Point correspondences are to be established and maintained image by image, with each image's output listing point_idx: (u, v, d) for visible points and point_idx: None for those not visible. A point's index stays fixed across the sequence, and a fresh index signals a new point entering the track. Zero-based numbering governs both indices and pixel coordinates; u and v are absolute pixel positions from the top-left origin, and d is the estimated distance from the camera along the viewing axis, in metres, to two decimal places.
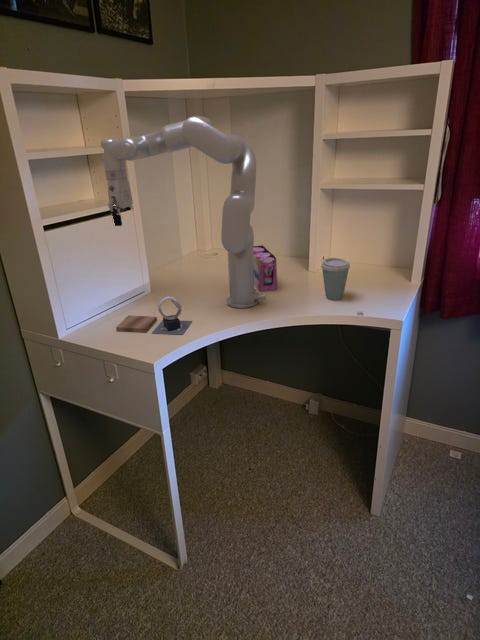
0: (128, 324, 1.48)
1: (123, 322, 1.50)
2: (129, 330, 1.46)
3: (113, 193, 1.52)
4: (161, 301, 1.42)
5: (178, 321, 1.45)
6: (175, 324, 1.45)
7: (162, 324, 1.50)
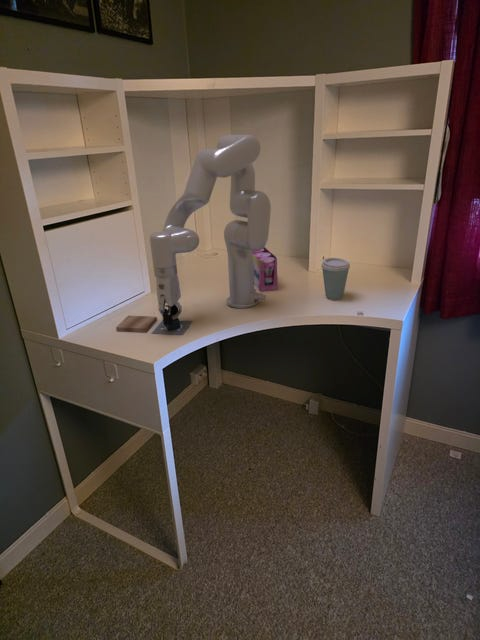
0: (128, 324, 1.48)
1: (123, 322, 1.50)
2: (129, 330, 1.46)
3: (163, 291, 1.37)
4: None
5: (178, 321, 1.45)
6: (175, 324, 1.45)
7: (162, 324, 1.50)
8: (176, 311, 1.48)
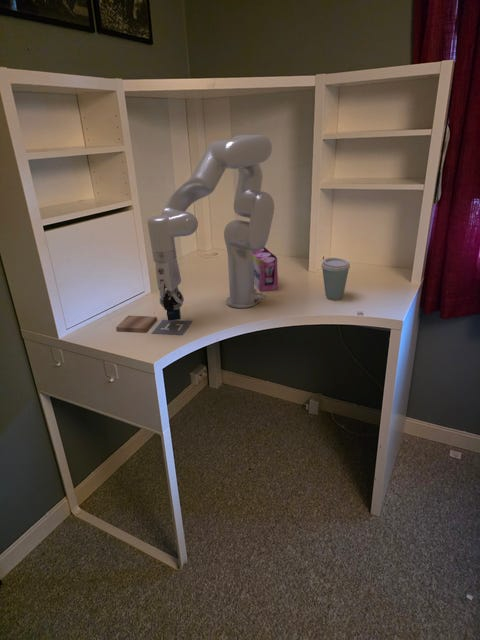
0: (128, 324, 1.48)
1: (123, 322, 1.50)
2: (129, 330, 1.46)
3: (162, 276, 1.35)
4: None
5: (178, 314, 1.45)
6: (175, 316, 1.46)
7: (162, 324, 1.50)
8: None
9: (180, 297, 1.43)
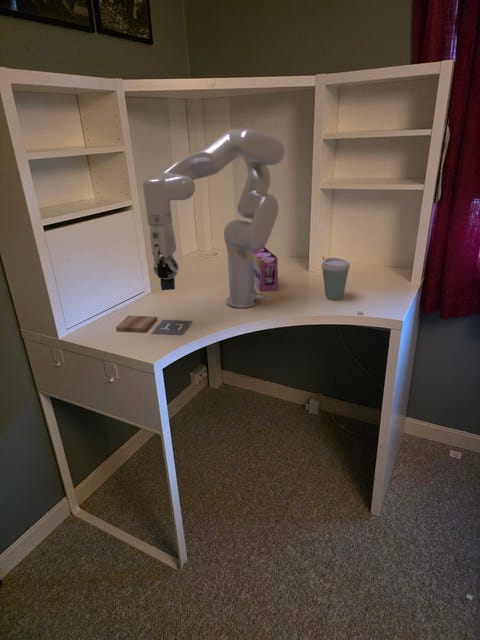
0: (128, 324, 1.48)
1: (123, 322, 1.50)
2: (129, 330, 1.46)
3: (157, 241, 1.30)
4: None
5: (172, 283, 1.40)
6: (169, 285, 1.41)
7: (162, 324, 1.50)
8: None
9: (175, 265, 1.38)
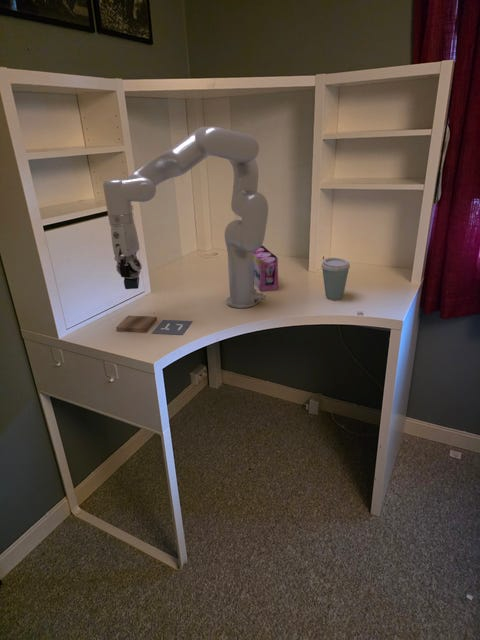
0: (128, 324, 1.48)
1: (123, 322, 1.50)
2: (129, 330, 1.46)
3: (118, 240, 1.33)
4: None
5: (135, 282, 1.43)
6: (132, 284, 1.43)
7: (162, 324, 1.50)
8: None
9: (137, 265, 1.41)
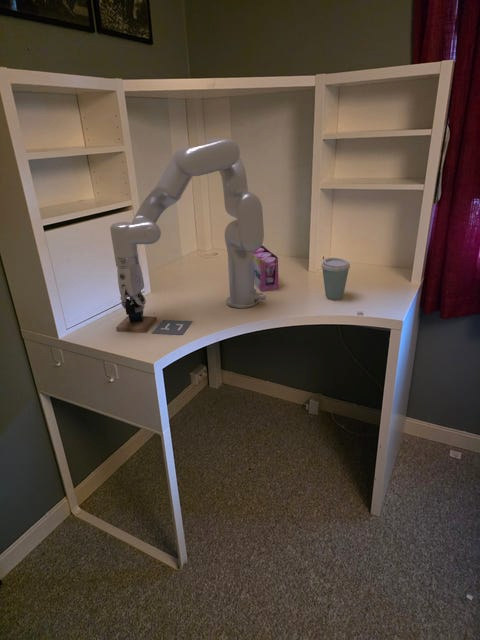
0: (128, 324, 1.48)
1: (123, 322, 1.50)
2: (129, 330, 1.46)
3: (124, 281, 1.38)
4: None
5: (139, 316, 1.48)
6: (137, 318, 1.48)
7: (162, 324, 1.50)
8: None
9: (142, 300, 1.46)
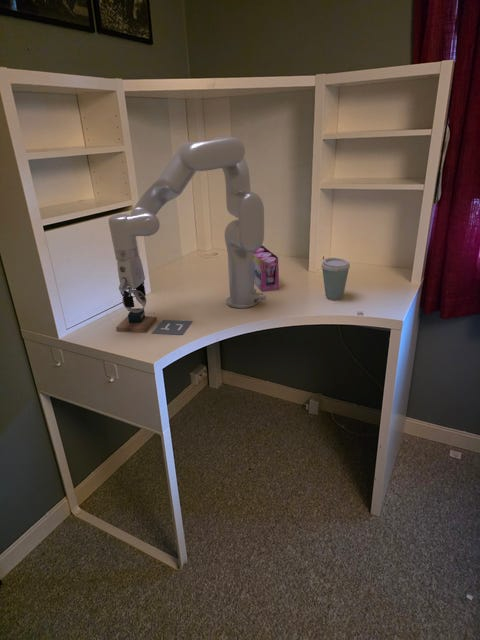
0: (128, 324, 1.48)
1: (123, 322, 1.50)
2: (129, 330, 1.46)
3: (124, 274, 1.37)
4: None
5: (138, 315, 1.48)
6: (136, 318, 1.48)
7: (162, 324, 1.50)
8: (142, 290, 1.49)
9: (142, 298, 1.47)
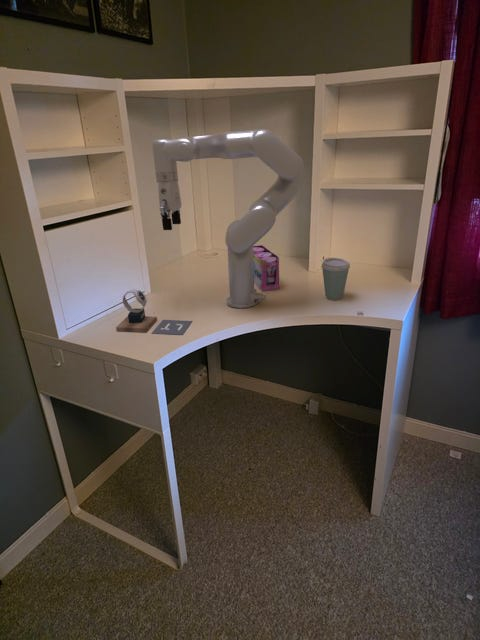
0: (128, 324, 1.48)
1: (123, 322, 1.50)
2: (129, 330, 1.46)
3: (164, 196, 1.45)
4: (125, 293, 1.47)
5: (138, 315, 1.48)
6: (136, 318, 1.48)
7: (162, 324, 1.50)
8: (178, 217, 1.57)
9: (142, 298, 1.48)
